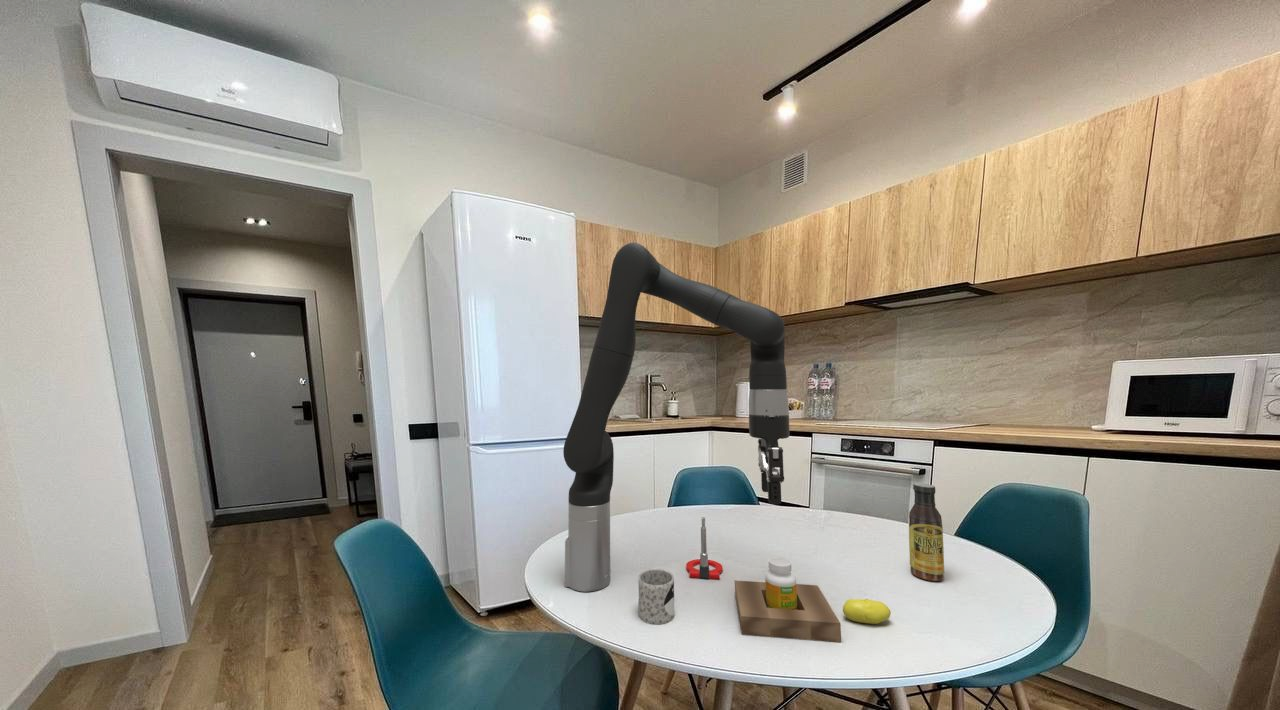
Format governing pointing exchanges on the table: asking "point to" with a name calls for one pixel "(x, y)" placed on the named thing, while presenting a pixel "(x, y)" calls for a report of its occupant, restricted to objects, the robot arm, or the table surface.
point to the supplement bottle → (780, 585)
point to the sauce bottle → (926, 535)
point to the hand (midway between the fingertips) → (770, 497)
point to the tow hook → (704, 561)
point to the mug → (656, 597)
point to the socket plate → (786, 614)
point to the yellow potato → (866, 611)
